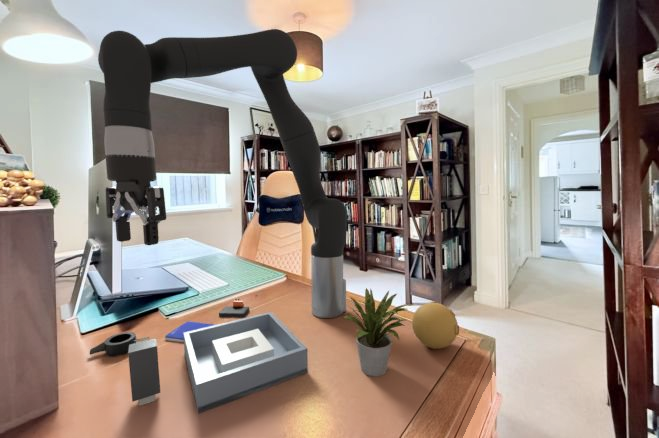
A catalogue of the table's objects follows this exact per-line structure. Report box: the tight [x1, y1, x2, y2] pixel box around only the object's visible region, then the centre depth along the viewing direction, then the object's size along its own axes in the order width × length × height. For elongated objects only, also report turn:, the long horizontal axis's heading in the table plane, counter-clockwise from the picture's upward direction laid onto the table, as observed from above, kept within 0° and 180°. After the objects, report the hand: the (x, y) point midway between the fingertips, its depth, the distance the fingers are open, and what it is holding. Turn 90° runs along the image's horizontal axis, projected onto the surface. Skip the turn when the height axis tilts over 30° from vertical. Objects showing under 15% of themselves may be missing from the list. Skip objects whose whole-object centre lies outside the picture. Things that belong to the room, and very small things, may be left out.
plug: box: [127, 338, 161, 407], centre depth 50 cm, size 4×3×10 cm
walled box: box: [183, 311, 309, 414], centre depth 61 cm, size 20×20×5 cm
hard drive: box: [164, 320, 215, 343], centre depth 73 cm, size 2×8×12 cm
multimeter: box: [218, 294, 258, 318], centre depth 92 cm, size 18×12×3 cm, turn 172°
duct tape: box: [89, 331, 150, 358], centre depth 66 cm, size 8×10×3 cm
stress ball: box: [411, 302, 460, 350], centre depth 67 cm, size 10×10×10 cm
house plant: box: [344, 287, 414, 377], centre depth 57 cm, size 14×14×16 cm
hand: (137, 242), depth 55 cm, fingers open, 8 cm apart
